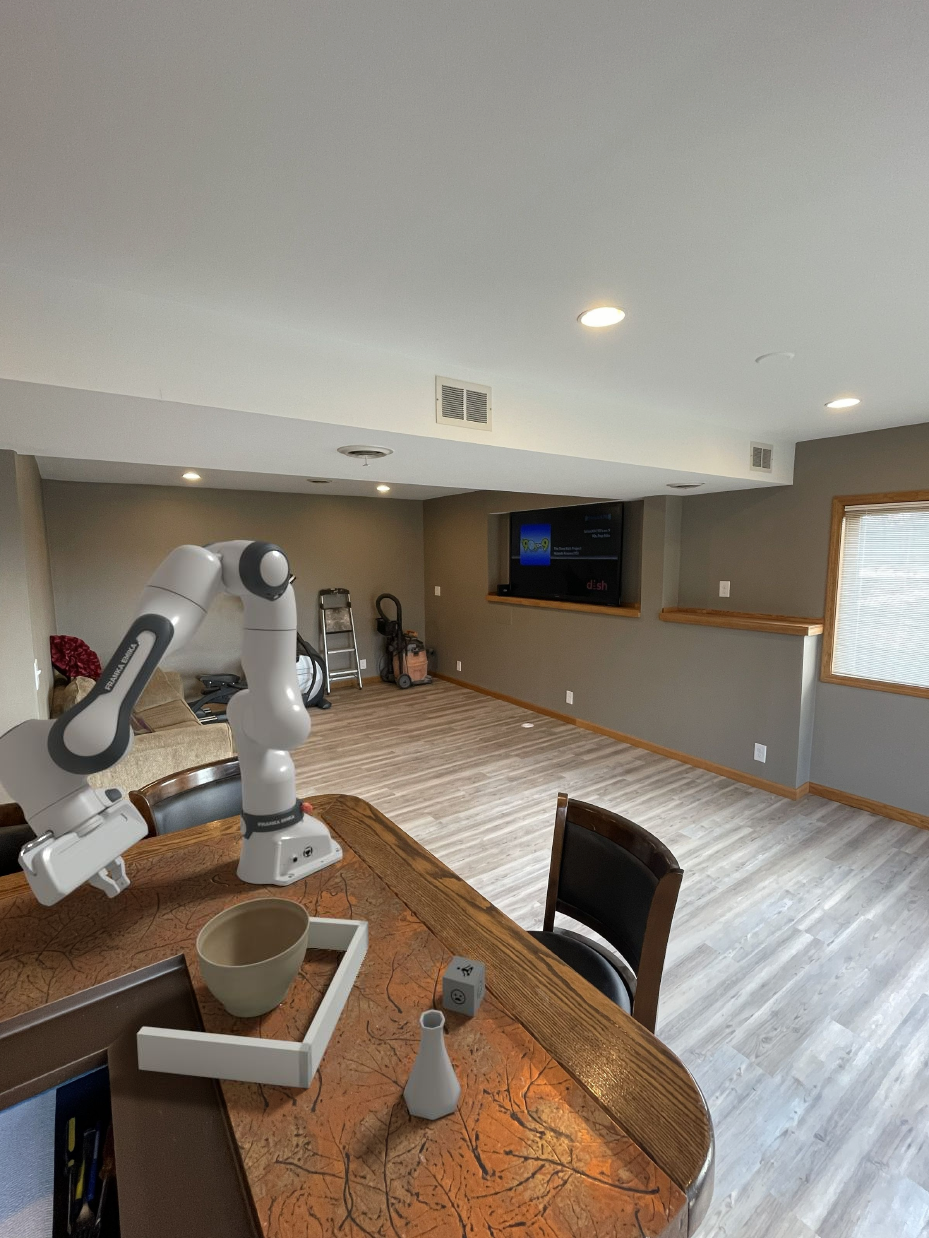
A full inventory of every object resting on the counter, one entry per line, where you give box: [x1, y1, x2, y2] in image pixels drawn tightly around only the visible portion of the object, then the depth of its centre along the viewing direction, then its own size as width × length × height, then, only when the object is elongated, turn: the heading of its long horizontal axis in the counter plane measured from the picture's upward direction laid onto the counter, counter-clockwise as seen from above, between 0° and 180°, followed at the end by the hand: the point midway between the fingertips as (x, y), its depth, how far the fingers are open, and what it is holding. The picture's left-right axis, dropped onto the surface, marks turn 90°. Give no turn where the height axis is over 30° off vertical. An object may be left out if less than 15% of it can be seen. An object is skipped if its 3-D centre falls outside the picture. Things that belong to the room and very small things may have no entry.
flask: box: [403, 1009, 462, 1121], centre depth 70 cm, size 7×7×10 cm
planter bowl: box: [195, 897, 310, 1018], centre depth 86 cm, size 16×16×11 cm
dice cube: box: [442, 955, 486, 1018], centre depth 85 cm, size 5×5×5 cm
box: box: [136, 916, 370, 1089], centre depth 85 cm, size 23×26×5 cm
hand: (121, 890), depth 87 cm, fingers closed
